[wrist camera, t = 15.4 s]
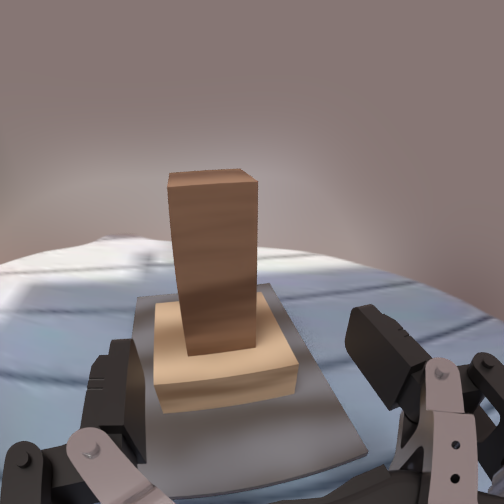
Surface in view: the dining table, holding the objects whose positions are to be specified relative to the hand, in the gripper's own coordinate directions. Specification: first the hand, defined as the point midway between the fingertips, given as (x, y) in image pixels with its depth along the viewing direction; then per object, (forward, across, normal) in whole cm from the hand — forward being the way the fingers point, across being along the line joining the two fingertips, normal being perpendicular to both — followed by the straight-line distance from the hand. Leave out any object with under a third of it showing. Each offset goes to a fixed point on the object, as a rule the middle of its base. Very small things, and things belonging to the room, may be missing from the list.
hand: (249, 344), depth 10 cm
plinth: (+11, 0, +12) cm, 16 cm away
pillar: (+11, 0, +8) cm, 14 cm away
